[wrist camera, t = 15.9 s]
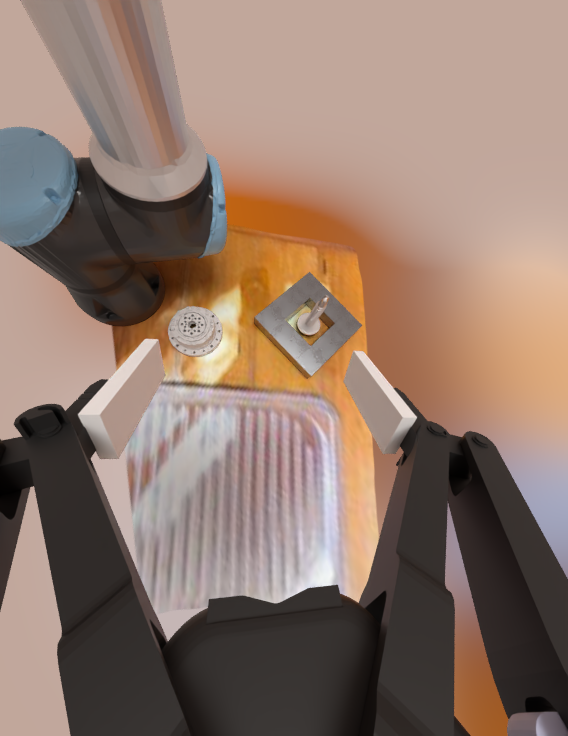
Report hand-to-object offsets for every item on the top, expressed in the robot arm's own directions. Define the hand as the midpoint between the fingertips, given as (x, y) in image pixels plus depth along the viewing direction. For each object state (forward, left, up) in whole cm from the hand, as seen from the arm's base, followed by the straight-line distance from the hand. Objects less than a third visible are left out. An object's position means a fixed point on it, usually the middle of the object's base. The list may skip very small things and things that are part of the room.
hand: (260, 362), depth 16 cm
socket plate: (-3, +19, -30) cm, 35 cm away
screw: (-3, +19, -30) cm, 35 cm away
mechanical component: (-17, +1, -30) cm, 35 cm away
